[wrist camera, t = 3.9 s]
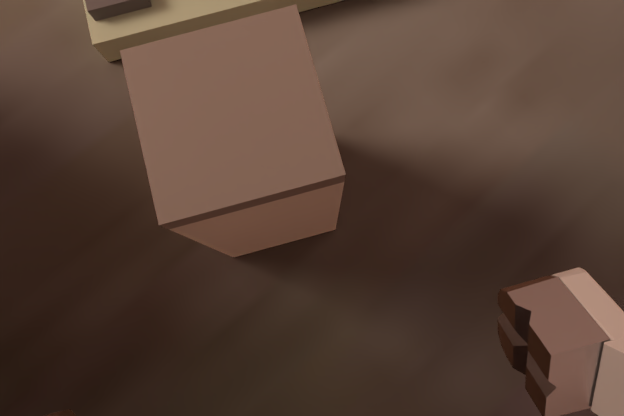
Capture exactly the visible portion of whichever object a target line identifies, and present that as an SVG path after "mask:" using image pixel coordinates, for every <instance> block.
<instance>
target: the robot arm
mask: <svg viewBox="0 0 624 416" xmlns="http://www.w3.org/2000/svg"><path fill="white" fill-rule="evenodd" d="M498 305H499V307H500V308H501V310H502V311H503V313H502V315H501V316H500V317H499V319H498V320H497V322H498V334H499V338H500V342H501V346H502V348H503V350H504V352H505V355H506V357H507V358H508V360H509V362H510V364H511V365H512V367H513V368H514V369H516V370H518V371H520V372H521V373H523V374H525V375H526V380H525V389H526V390H527V392H528V394H529V395H530V397H531V398H532V400H533V402H534V403H535V405H536V407H537V408H538V410H539V412H540V413H541V415H542V416H561V415H565V414H569V413H572V412H576V411H580V410H584V409H588V408H591V411H592V412H594V413H595V414H597V415H598V416H624V311H623V310H622V309H621V308H620V307H619V306H618V305H617V304H616V303H615V301H614V300H613V299H612V298H611V297H610V296H609V295H608V294H607V293H606V292H605V291H604V290H603V289H602V288H601V287H600V285H599V284H598V283H597V282H596V281H595V280H594V279H593V278H592V277H591V276H590V275H589V274H588V273H587V272H586V270H584V269H582V268H580V267H578V268H575V269H571V270H567V271H564V272H560V273H556V274H553V275H548V276H544V277H541V278H537V279H534V280H530V281H527V282H523V283H520V284H516V285H513V286H510V287H506V288H503V289H500V291H499V293H498ZM43 416H76V415H75V414H74V413H73V412H72V410H71V409H68V410H63V411H59V412H55V413H51V414H47V415H43Z"/></svg>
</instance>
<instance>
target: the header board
mask: <svg viewBox="0 0 624 416" xmlns="http://www.w3.org/2000/svg"><path fill="white" fill-rule="evenodd" d="M340 1H344V0H83V3H84V7H85V12H86V17H87V21H88V26H89V31H90V35H91V40H92V45H93V46H94V47H95V48H96V49H97V50H98V51H99V52H100V53H101V54H102V55H103V57H104V58H105V59H106V60H107V61H108V62H112V61H115V60H119V59H122V58H121V54H120V50H124V49H127V48H131V47H135V46H139V45H143V44H146V43H150V42H154V41H158V40H162V39H165V38H169V37H173V36H177V35H181V34H185V33H188V32H192V31H196V30H200V29H204V28H207V27H211V26H215V25H219V24H223V23H227V22H230V21H234V20H238V19H242V18H246V17H249V16H253V15H257V14H261V13H265V12H268V11H272V10H276V9H280V8H284V7H288V6H291V5H295V4H296V5H297V9H298V12H302V11H306V10H310V9H313V8H317V7H321V6H325V5H329V4H332V3H336V2H340Z"/></svg>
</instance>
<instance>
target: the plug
mask: <svg viewBox="0 0 624 416" xmlns="http://www.w3.org/2000/svg"><path fill="white" fill-rule="evenodd" d="M120 54H121V58H122V63H123V67H124V72H125V76H126V81H127V85H128V90H129V94H130V99H131V103H132V107H133V112H134V116H135V121H136V125H137V130H138V134H139V139H140V143H141V148H142V152H143V157H144V161H145V166H146V170H147V175H148V179H149V184H150V188H151V193H152V197H153V201H154V206H155V210H156V215H157V219H158V224H159V226H162V227H164V228H166V229H169V230H171V231H173V232H176V233H178V234H180V235H183V236H185V237H187V238H189V239H192V240H194V241H196V242H199V243H201V244H203V245H206V246H208V247H210V248H213V249H215V250H217V251H220V252H222V253H224V254H226V255H229V256H231V257H233V258H234V257H237V256H241V255H245V254H248V253H252V252H256V251H259V250H263V249H267V248H270V247H274V246H278V245H281V244H285V243H289V242H292V241H296V240H300V239H303V238H307V237H311V236H314V235H318V234H321V233H325V232H329V231H332V230H336V224H337V219H338V214H339V209H340V203H341V198H342V193H343V187H344V182H345V177H346V173H345V170H344V166H343V163H342V159H341V156H340V153H339V149H338V146H337V142H336V139H335V135H334V132H333V129H332V125H331V122H330V118H329V115H328V111H327V108H326V105H325V101H324V98H323V94H322V91H321V87H320V84H319V81H318V77H317V74H316V70H315V67H314V63H313V60H312V57H311V53H310V50H309V46H308V43H307V39H306V36H305V33H304V29H303V26H302V22H301V19H300V15H299V12H298V9H297V5H296V4H295V5H291V6H288V7H284V8H280V9H276V10H272V11H268V12H265V13H261V14H257V15H253V16H249V17H246V18H242V19H238V20H234V21H230V22H227V23H223V24H219V25H215V26H211V27H207V28H204V29H200V30H196V31H192V32H188V33H185V34H181V35H177V36H173V37H169V38H165V39H162V40H158V41H154V42H150V43H146V44H143V45H139V46H135V47H131V48H127V49H124V50H120Z"/></svg>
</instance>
